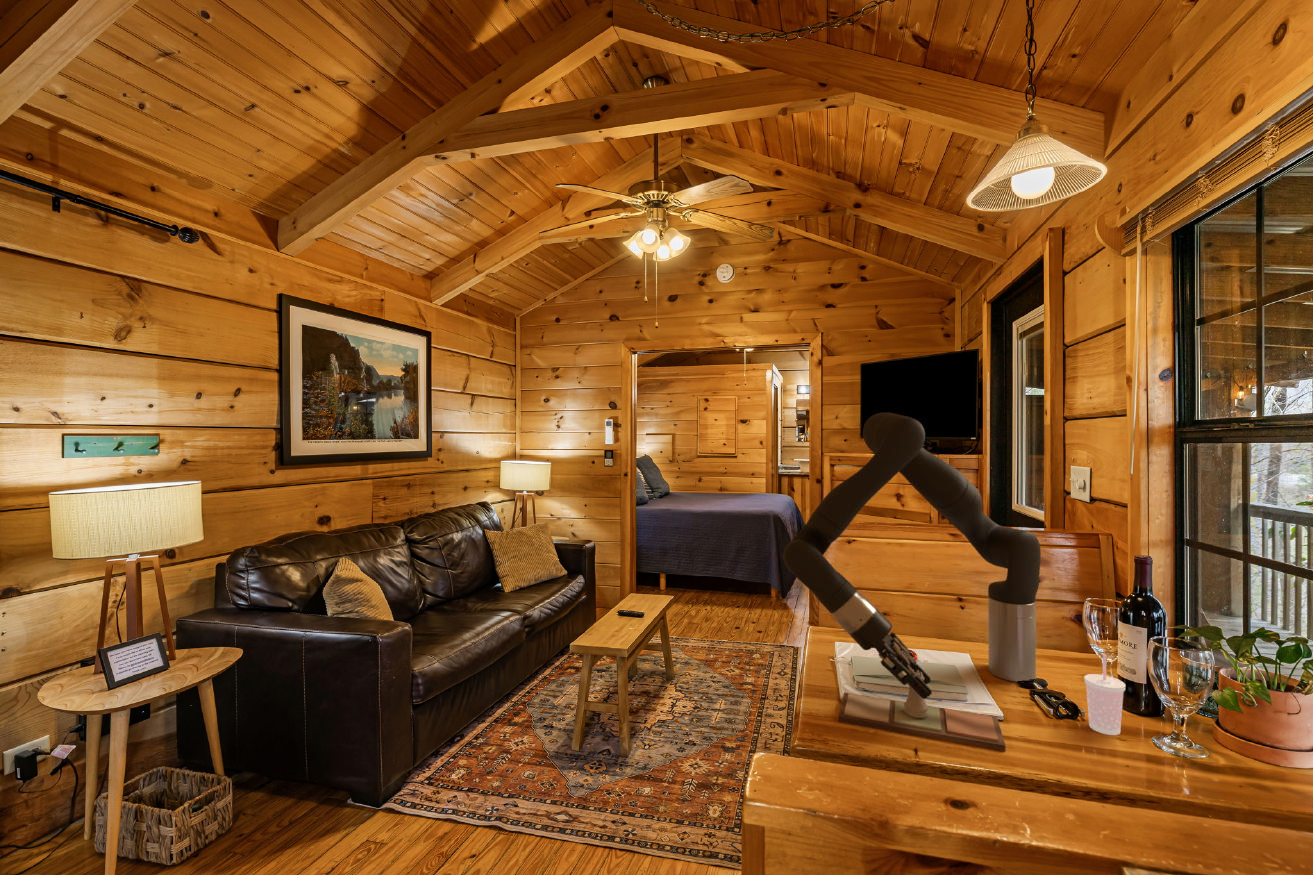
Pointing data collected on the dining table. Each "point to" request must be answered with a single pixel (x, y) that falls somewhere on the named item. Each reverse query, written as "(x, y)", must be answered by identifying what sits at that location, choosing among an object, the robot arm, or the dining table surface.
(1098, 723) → the beverage cup
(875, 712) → the tile board
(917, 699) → the rook chess piece
